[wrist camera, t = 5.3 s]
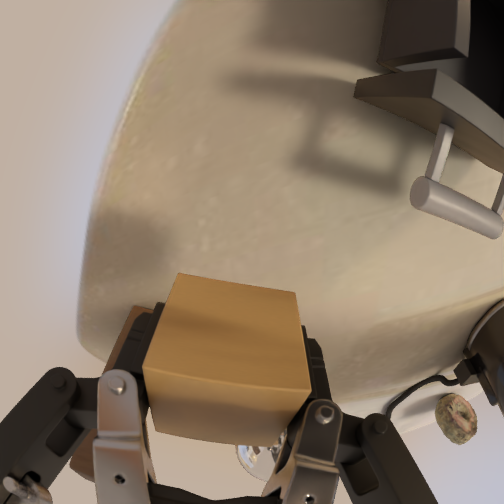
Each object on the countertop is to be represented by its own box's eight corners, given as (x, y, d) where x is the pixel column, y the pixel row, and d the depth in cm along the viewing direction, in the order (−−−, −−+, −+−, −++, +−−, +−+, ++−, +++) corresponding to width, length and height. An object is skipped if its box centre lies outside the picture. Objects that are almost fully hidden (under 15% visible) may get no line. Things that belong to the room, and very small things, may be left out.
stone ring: (426, 401, 32) (444, 451, 24) (442, 387, 31) (463, 438, 22) (452, 402, 35) (469, 443, 26) (466, 390, 33) (485, 432, 24)
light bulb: (312, 343, 24) (334, 466, 13) (305, 384, 27) (318, 485, 17) (235, 346, 24) (228, 473, 14) (240, 387, 28) (237, 489, 17)
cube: (269, 364, 13) (271, 447, 9) (176, 349, 12) (155, 431, 8) (295, 291, 11) (312, 391, 7) (178, 271, 10) (140, 366, 6)
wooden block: (133, 304, 22) (67, 466, 9) (169, 313, 22) (120, 487, 9) (137, 351, 25) (94, 486, 12) (167, 359, 25) (136, 499, 12)
